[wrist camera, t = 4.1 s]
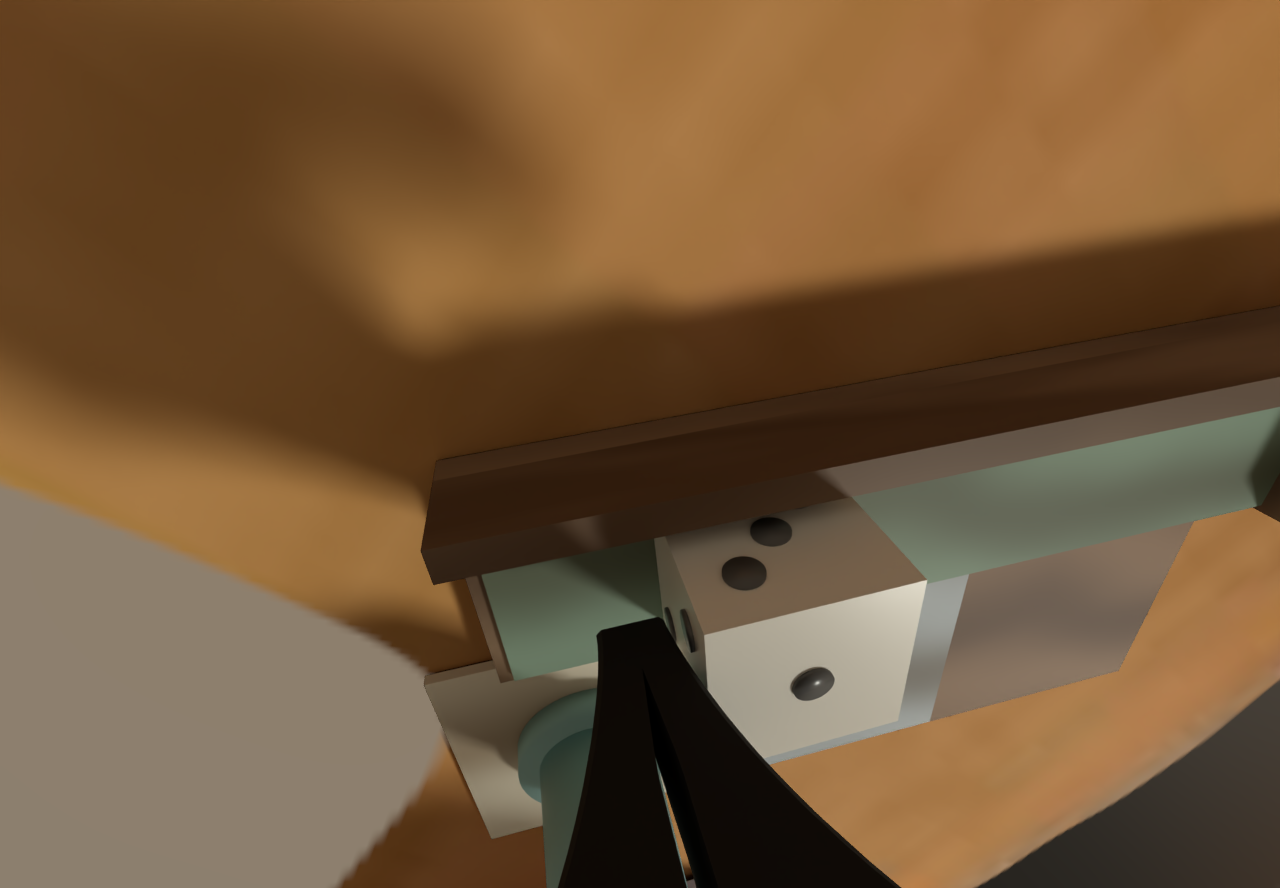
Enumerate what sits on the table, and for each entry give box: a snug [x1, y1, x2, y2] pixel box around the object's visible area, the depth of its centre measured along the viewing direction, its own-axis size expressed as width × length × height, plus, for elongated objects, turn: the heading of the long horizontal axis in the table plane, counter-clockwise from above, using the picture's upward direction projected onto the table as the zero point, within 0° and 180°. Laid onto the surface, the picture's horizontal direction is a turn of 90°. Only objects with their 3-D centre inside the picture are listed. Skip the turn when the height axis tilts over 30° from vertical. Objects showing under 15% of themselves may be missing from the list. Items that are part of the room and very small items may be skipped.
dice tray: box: [421, 306, 1280, 683], centre depth 14 cm, size 6×24×3 cm, turn 95°
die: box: [654, 497, 927, 759], centre depth 12 cm, size 4×4×4 cm
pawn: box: [518, 688, 688, 888], centre depth 15 cm, size 5×5×7 cm
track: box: [424, 521, 1194, 839], centre depth 19 cm, size 8×24×1 cm, turn 95°
